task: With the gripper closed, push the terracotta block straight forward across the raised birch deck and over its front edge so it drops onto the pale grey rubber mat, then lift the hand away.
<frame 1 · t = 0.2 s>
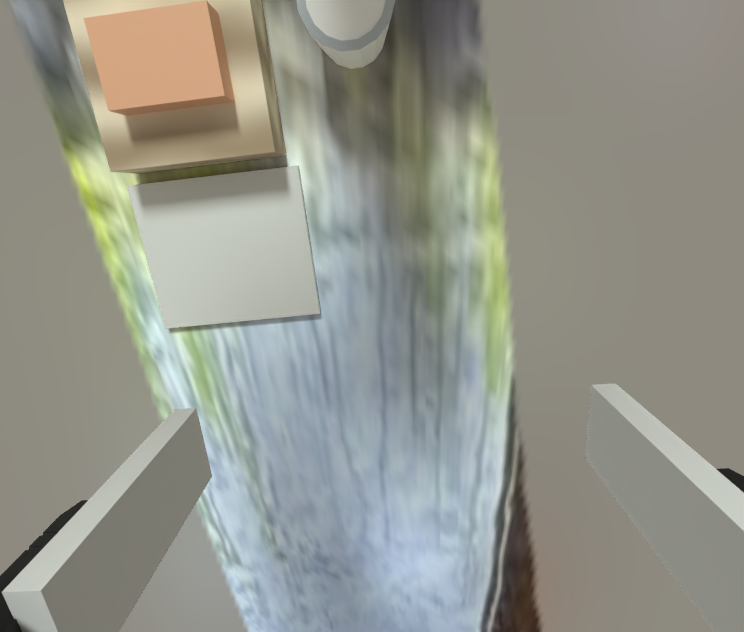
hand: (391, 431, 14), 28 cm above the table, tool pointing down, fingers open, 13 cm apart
shot glass: (353, 31, 35), on the table
grey mat: (229, 251, 40), on the table
birch deck: (190, 66, 35), on the table
terracotta block: (170, 66, 32), point 4 cm above the table, touching birch deck
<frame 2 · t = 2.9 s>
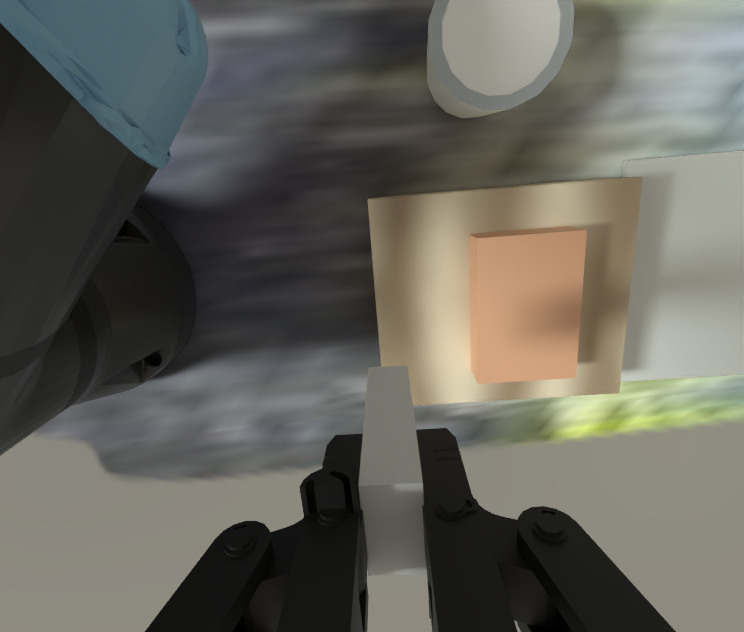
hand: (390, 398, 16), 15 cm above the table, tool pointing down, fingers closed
shot glass: (470, 70, 26), on the table
grey mat: (712, 271, 29), on the table
birch deck: (486, 287, 30), on the table
terracotta block: (517, 301, 26), point 4 cm above the table, touching birch deck
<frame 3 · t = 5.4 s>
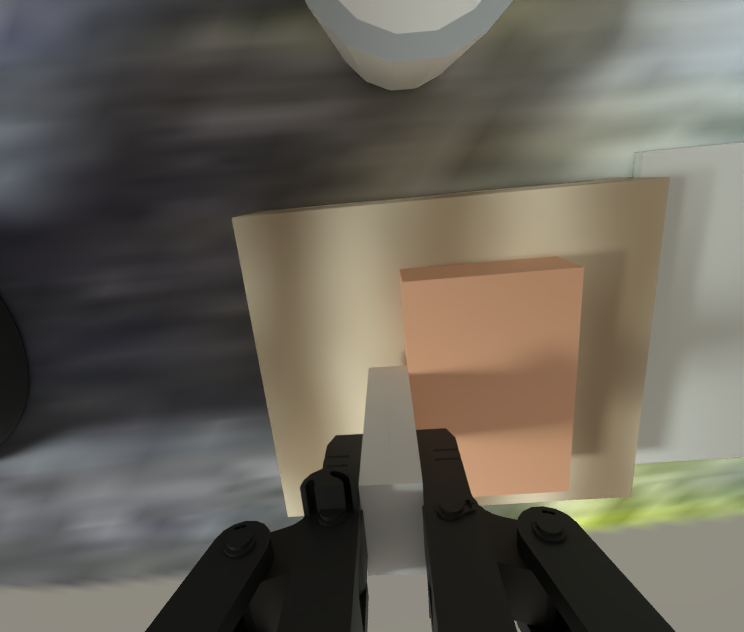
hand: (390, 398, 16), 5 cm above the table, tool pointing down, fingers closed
shot glass: (399, 15, 17), on the table
birch deck: (438, 337, 21), on the table
terracotta block: (478, 369, 17), point 4 cm above the table, touching birch deck, gripper
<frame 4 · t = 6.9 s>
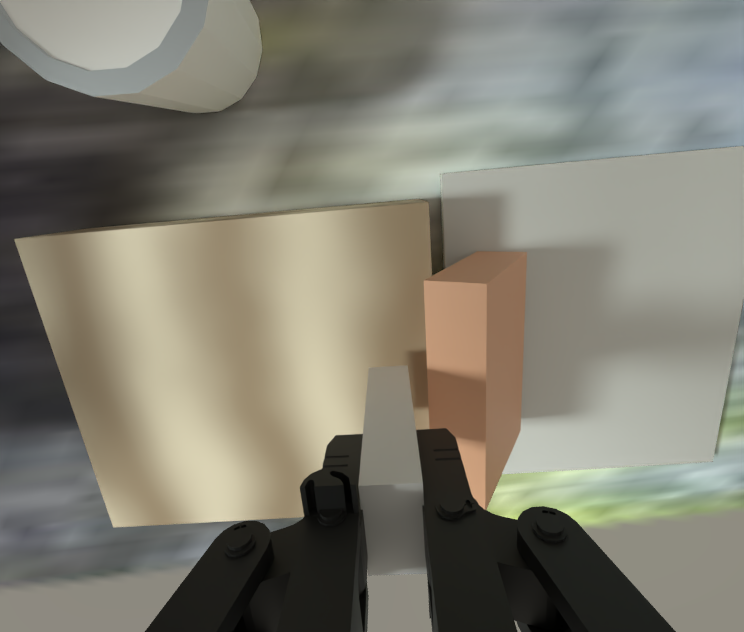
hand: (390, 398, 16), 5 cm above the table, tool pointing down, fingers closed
shot glass: (197, 41, 17), on the table
grey mat: (585, 328, 21), on the table
birch deck: (272, 351, 21), on the table
terracotta block: (456, 365, 18), point 3 cm above the table, tilted 60°, touching grey mat
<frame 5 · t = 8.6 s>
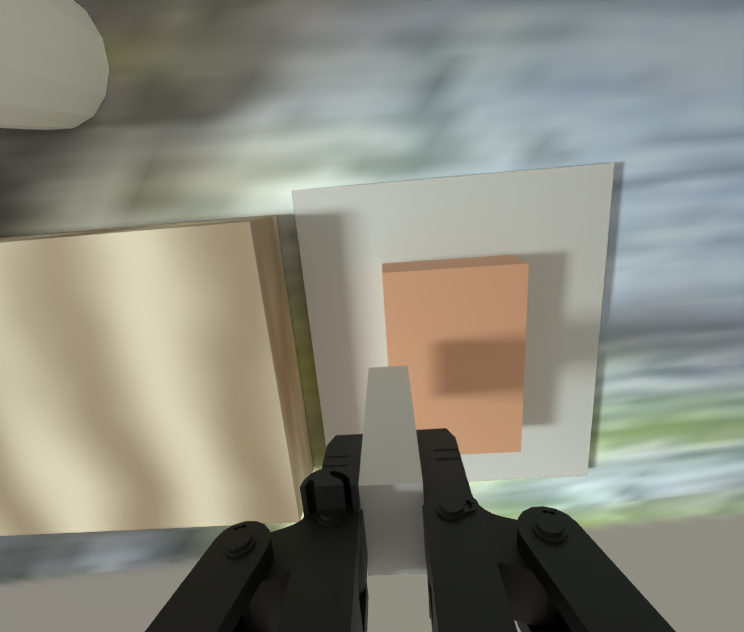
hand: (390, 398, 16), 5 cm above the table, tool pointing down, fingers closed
shot glass: (47, 60, 18), on the table
grey mat: (452, 342, 21), on the table
birch deck: (146, 363, 22), on the table
terracotta block: (456, 368, 18), point 3 cm above the table, tilted 180°, touching grey mat
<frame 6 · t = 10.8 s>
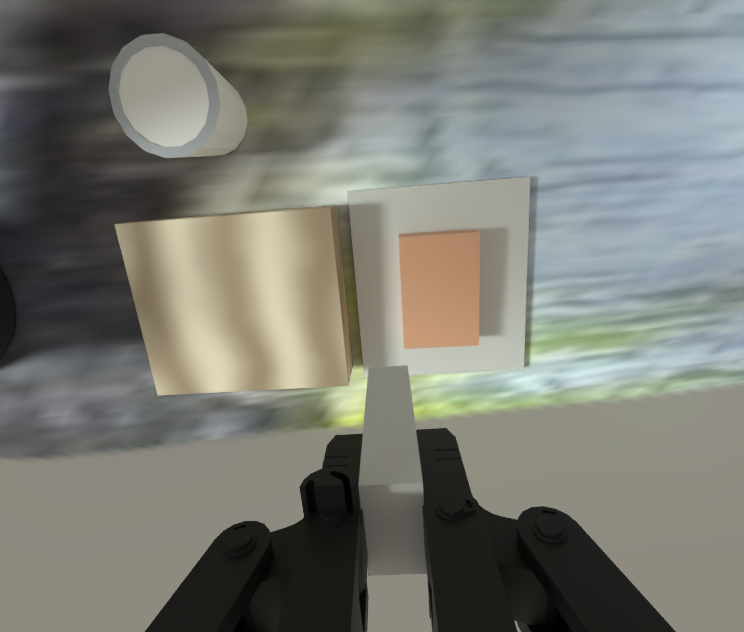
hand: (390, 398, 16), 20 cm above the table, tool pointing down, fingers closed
shot glass: (212, 117, 32), on the table
grey mat: (439, 283, 35), on the table
birch deck: (253, 295, 36), on the table
terracotta block: (440, 293, 32), point 3 cm above the table, tilted 180°, touching grey mat
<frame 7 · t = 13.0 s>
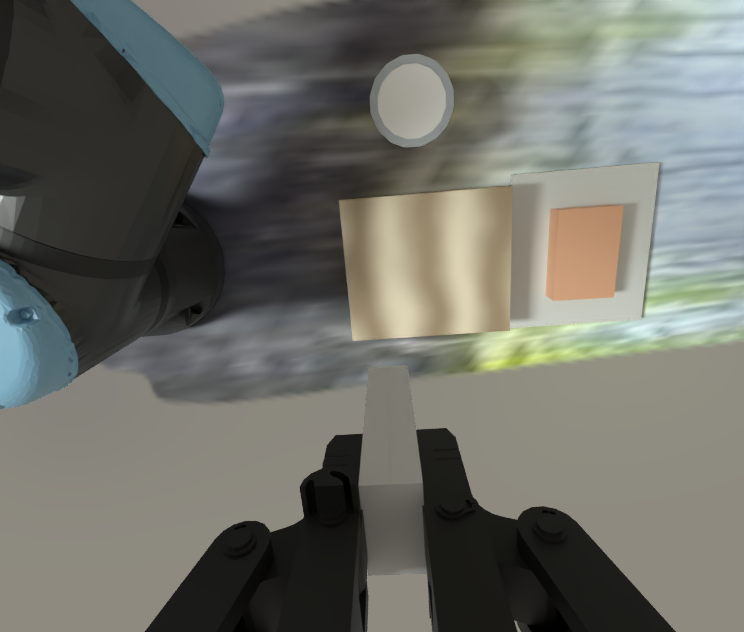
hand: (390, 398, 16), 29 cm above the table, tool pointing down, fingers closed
shot glass: (407, 116, 40), on the table
grey mat: (577, 249, 43), on the table
birch deck: (424, 261, 44), on the table
terracotta block: (587, 254, 40), point 3 cm above the table, tilted 180°, touching grey mat
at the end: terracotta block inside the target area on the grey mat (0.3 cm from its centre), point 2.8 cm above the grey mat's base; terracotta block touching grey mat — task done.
